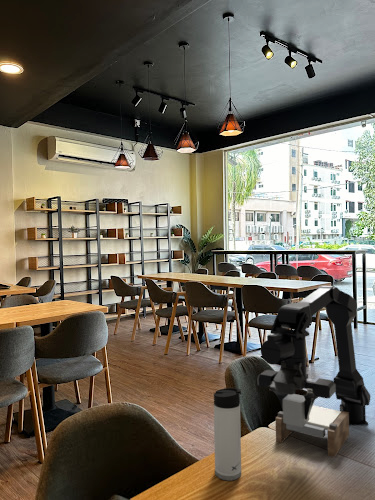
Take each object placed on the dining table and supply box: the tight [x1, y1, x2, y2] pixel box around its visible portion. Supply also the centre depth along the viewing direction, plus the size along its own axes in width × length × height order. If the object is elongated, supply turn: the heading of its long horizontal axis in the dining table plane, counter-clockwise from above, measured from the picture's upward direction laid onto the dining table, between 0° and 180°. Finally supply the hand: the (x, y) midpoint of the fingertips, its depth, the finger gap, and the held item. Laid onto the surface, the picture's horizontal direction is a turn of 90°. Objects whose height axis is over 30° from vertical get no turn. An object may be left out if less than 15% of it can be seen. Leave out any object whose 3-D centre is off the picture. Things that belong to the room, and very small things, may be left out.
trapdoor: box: [286, 405, 341, 439], centre depth 112 cm, size 14×12×2 cm
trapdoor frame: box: [275, 410, 350, 458], centre depth 112 cm, size 15×16×7 cm
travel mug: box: [213, 387, 242, 482], centre depth 95 cm, size 6×7×20 cm
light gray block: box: [282, 393, 309, 427], centre depth 102 cm, size 5×5×6 cm
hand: (296, 416), depth 102 cm, fingers closed on light gray block, 5 cm apart
